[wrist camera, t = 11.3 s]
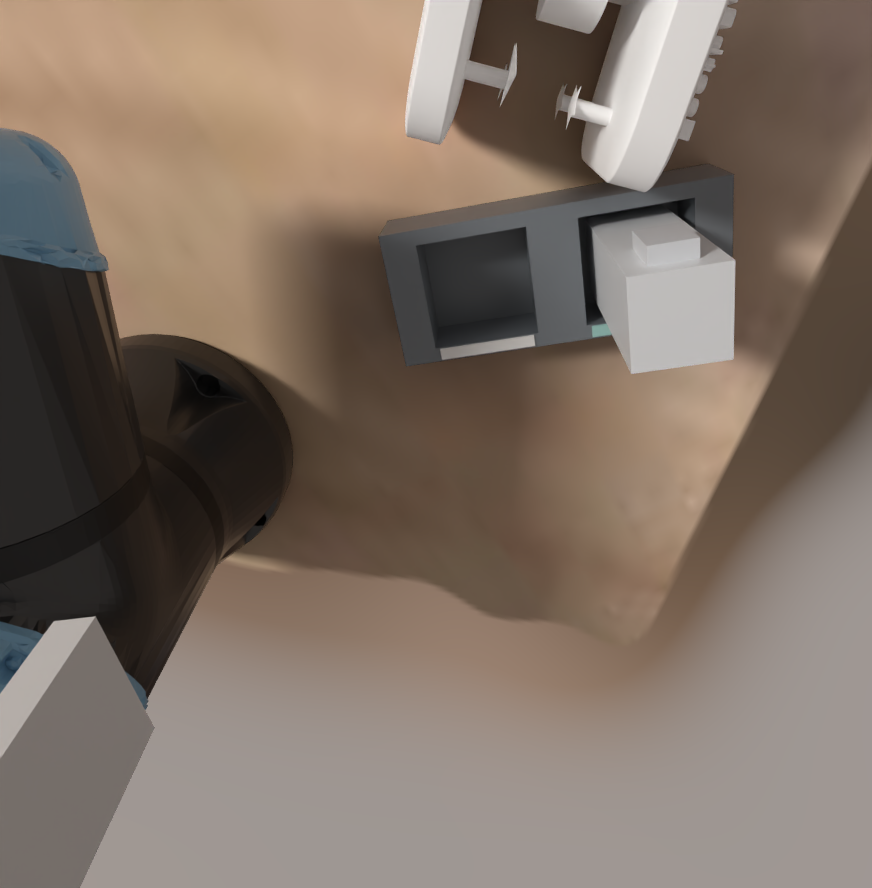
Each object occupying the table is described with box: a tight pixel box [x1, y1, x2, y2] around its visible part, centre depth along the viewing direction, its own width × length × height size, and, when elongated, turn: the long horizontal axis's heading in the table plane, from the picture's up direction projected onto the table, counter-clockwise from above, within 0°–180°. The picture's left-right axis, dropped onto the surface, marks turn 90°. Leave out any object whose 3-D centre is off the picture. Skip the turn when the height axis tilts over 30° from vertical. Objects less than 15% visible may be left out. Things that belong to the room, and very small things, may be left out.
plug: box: [585, 204, 735, 374], centre depth 32 cm, size 4×5×12 cm
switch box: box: [378, 164, 734, 366], centre depth 37 cm, size 17×7×4 cm, turn 100°
